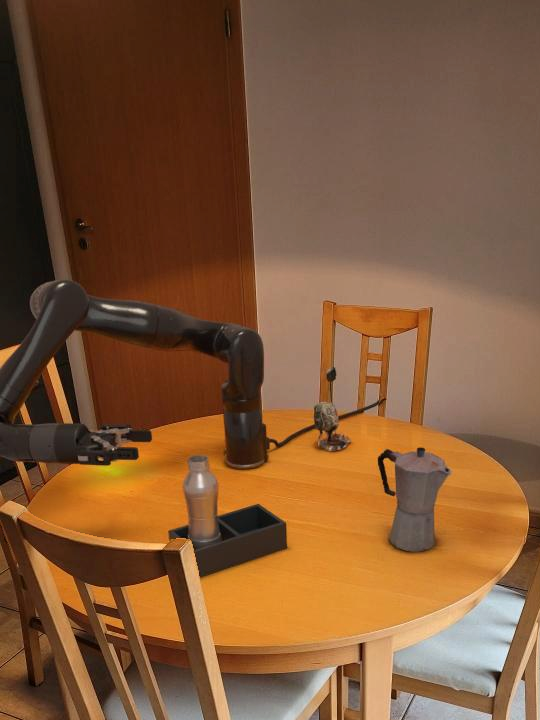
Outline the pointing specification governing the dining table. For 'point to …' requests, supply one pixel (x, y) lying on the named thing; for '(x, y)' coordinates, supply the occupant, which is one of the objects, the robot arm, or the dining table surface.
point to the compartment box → (239, 539)
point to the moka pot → (414, 496)
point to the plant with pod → (329, 420)
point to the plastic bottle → (201, 503)
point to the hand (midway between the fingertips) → (144, 444)
